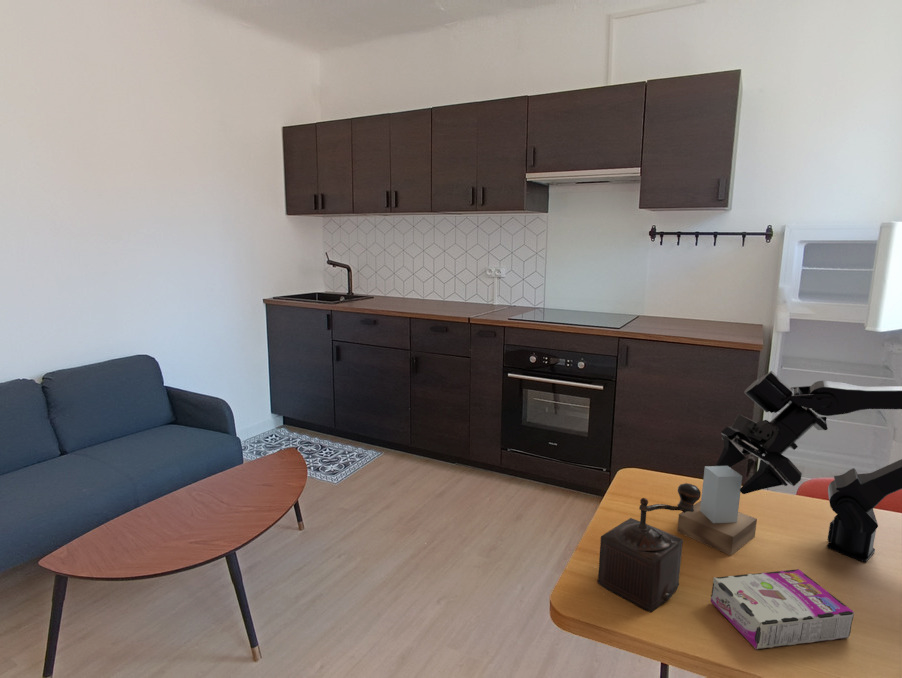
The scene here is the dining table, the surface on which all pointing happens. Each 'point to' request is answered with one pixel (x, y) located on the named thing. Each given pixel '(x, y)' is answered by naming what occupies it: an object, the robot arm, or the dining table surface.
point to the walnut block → (717, 530)
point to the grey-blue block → (721, 494)
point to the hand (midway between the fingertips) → (727, 481)
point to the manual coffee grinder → (644, 556)
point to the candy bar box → (781, 608)
